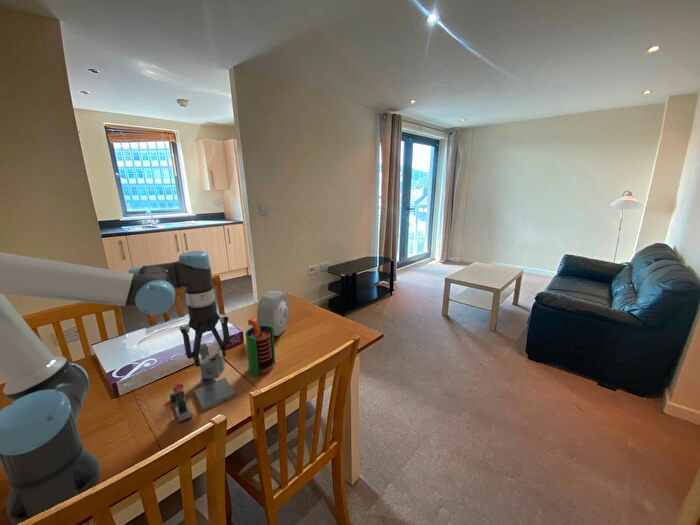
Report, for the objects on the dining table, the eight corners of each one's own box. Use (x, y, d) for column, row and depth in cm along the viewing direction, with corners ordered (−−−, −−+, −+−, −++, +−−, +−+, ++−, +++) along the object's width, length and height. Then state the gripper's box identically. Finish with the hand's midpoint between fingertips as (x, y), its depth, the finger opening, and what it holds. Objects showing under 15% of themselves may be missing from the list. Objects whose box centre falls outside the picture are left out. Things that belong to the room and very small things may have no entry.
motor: (266, 378, 106) (261, 328, 101) (243, 375, 108) (238, 325, 102) (278, 361, 116) (274, 315, 110) (257, 358, 117) (252, 313, 112)
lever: (179, 421, 86) (173, 390, 83) (176, 413, 89) (170, 383, 86) (190, 416, 88) (185, 385, 85) (187, 409, 91) (182, 378, 88)
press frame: (178, 424, 86) (170, 384, 82) (168, 394, 98) (161, 357, 95) (236, 398, 96) (231, 361, 93) (220, 373, 109) (215, 339, 105)
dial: (280, 345, 127) (276, 302, 121) (254, 343, 129) (250, 300, 123) (295, 323, 146) (293, 285, 141) (273, 321, 148) (270, 284, 143)
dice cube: (218, 378, 91) (216, 364, 90) (202, 378, 91) (199, 364, 90) (224, 368, 96) (222, 354, 95) (209, 368, 96) (207, 355, 95)
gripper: (168, 316, 79) (183, 388, 86) (236, 298, 91) (244, 364, 97) (164, 307, 85) (177, 375, 92) (228, 291, 96) (236, 354, 103)
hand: (212, 369), depth 94 cm, fingers closed on dice cube, 5 cm apart
